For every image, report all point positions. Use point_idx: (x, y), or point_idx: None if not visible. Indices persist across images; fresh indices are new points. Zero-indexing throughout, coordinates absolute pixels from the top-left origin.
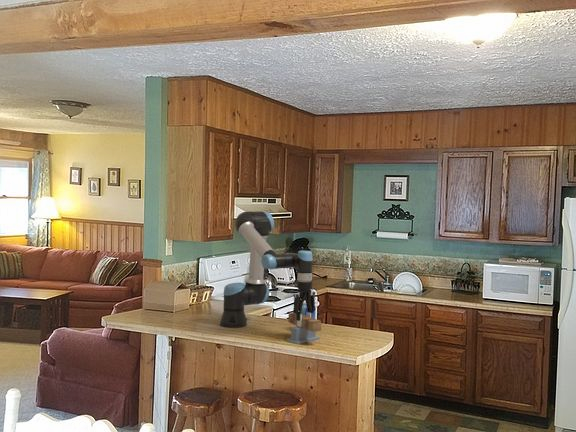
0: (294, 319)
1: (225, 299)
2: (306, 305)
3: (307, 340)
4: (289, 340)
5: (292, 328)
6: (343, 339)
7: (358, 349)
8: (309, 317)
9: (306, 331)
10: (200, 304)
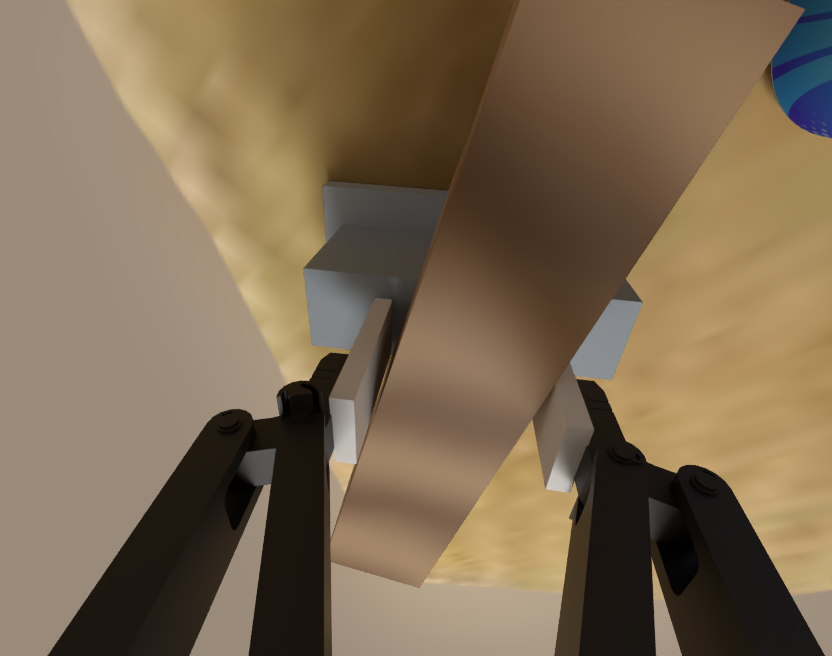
0: (444, 209)
1: None
2: (589, 556)
3: None
4: (327, 220)
5: (307, 285)
6: (699, 438)
7: (517, 554)
8: (472, 467)
9: None
10: None
